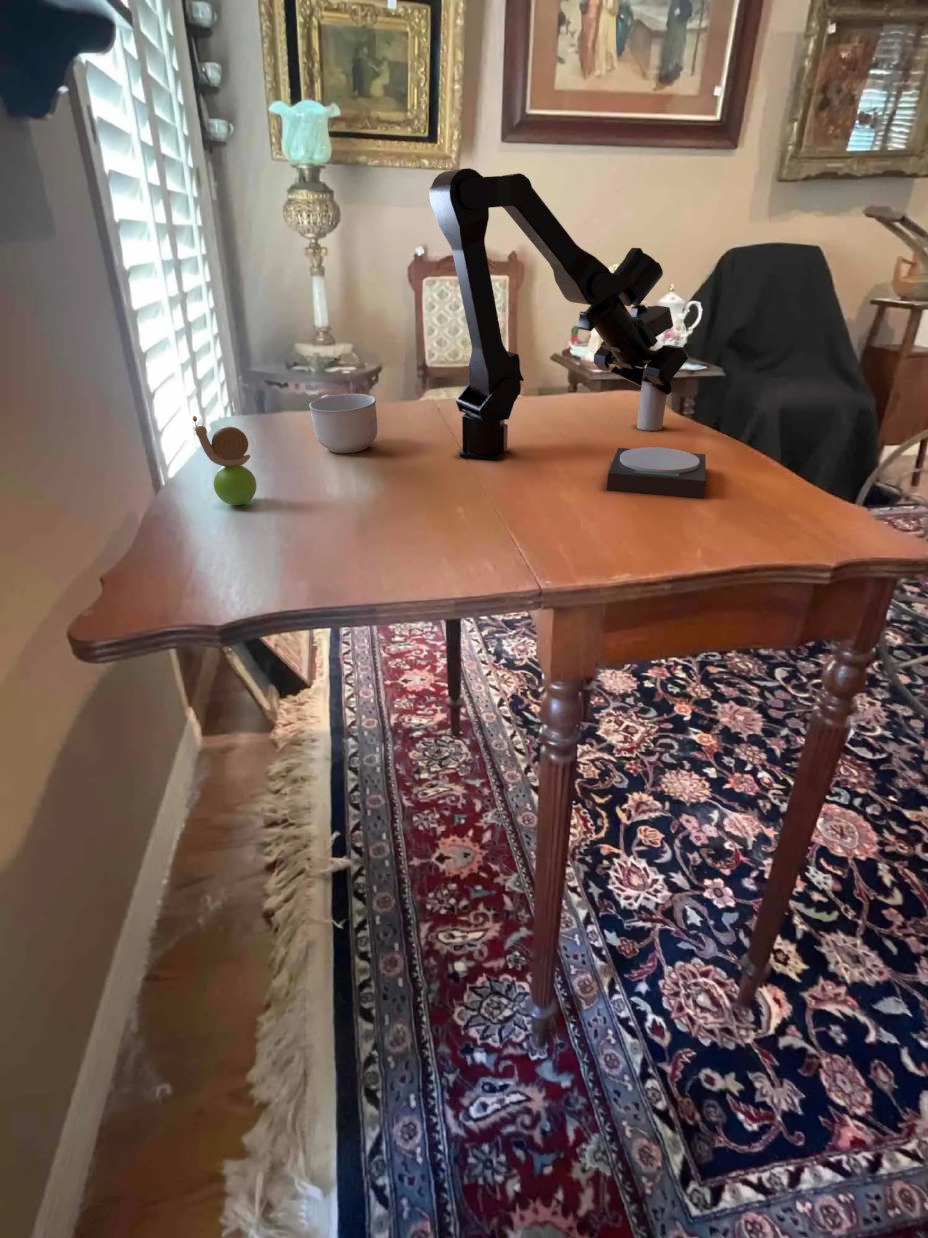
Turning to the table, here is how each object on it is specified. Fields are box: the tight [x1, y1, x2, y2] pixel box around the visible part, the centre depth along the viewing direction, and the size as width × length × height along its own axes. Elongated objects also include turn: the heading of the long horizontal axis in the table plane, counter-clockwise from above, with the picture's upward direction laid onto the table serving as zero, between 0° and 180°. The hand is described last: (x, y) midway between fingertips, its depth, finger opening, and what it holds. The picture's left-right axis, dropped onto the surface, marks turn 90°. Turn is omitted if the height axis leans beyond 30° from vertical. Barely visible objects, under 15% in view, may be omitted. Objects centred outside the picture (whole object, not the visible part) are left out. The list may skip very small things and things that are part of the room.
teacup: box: [308, 393, 378, 454], centre depth 116 cm, size 14×11×8 cm
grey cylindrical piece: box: [636, 367, 668, 432], centre depth 124 cm, size 4×4×10 cm
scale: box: [606, 446, 707, 499], centre depth 100 cm, size 13×13×3 cm
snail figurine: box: [192, 415, 257, 506], centre depth 90 cm, size 5×6×12 cm
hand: (660, 390), depth 124 cm, fingers closed on grey cylindrical piece, 4 cm apart
